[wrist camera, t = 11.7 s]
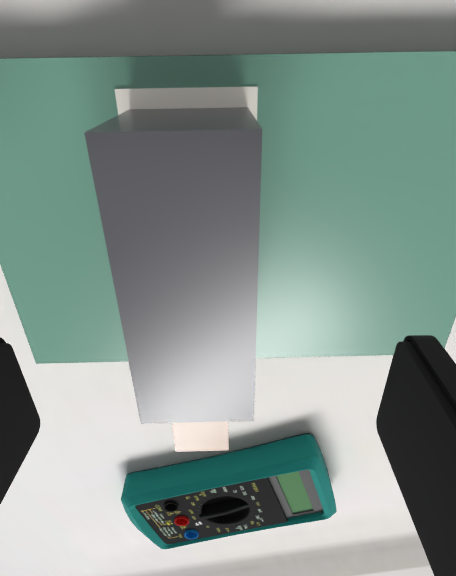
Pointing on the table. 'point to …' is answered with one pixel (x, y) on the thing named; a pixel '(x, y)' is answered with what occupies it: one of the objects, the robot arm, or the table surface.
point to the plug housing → (184, 261)
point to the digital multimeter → (231, 493)
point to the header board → (273, 198)
